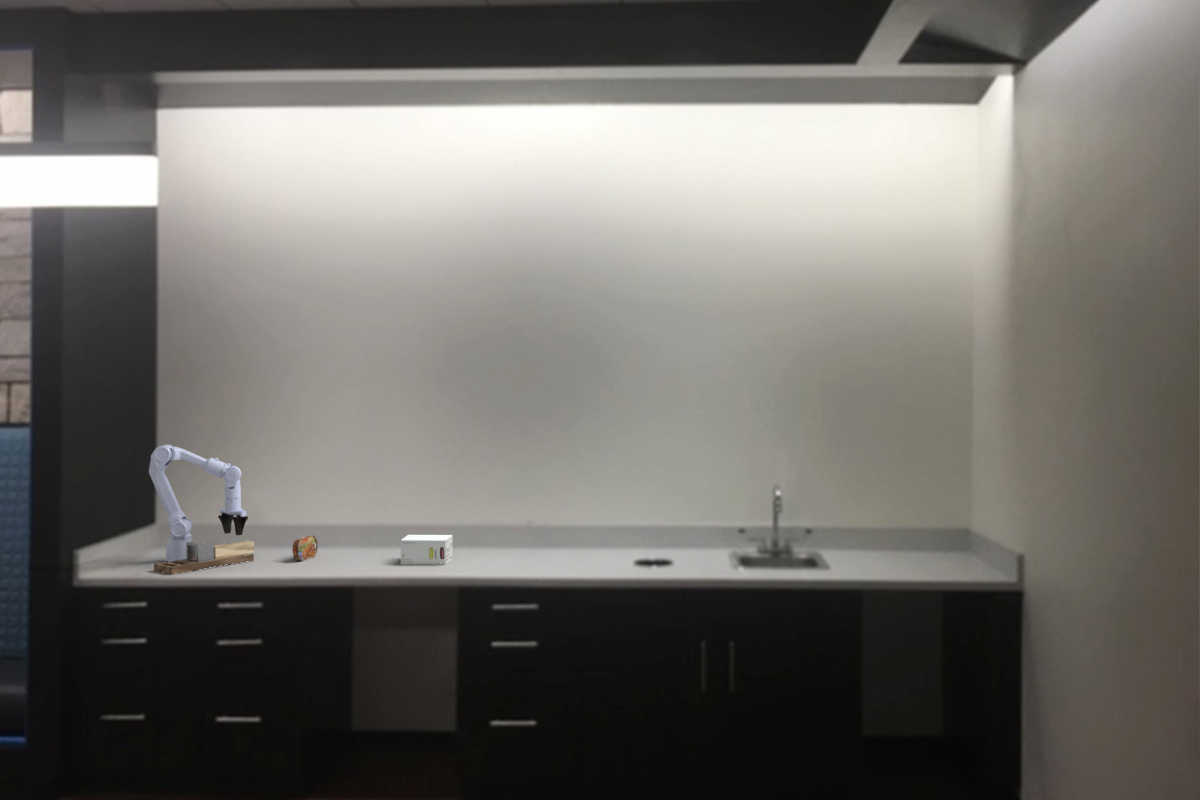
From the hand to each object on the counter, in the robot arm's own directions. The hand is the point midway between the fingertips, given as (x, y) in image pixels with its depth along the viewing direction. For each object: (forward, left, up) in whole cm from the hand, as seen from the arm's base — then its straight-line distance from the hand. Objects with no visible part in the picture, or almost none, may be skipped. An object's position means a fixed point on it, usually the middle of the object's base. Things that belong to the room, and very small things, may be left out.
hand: (233, 534), depth 368 cm
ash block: (+4, -3, -7) cm, 9 cm away
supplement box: (+64, +39, -10) cm, 76 cm away
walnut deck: (+4, -14, -9) cm, 17 cm away
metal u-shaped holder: (+4, -16, -7) cm, 18 cm away
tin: (+22, +16, -10) cm, 29 cm away
